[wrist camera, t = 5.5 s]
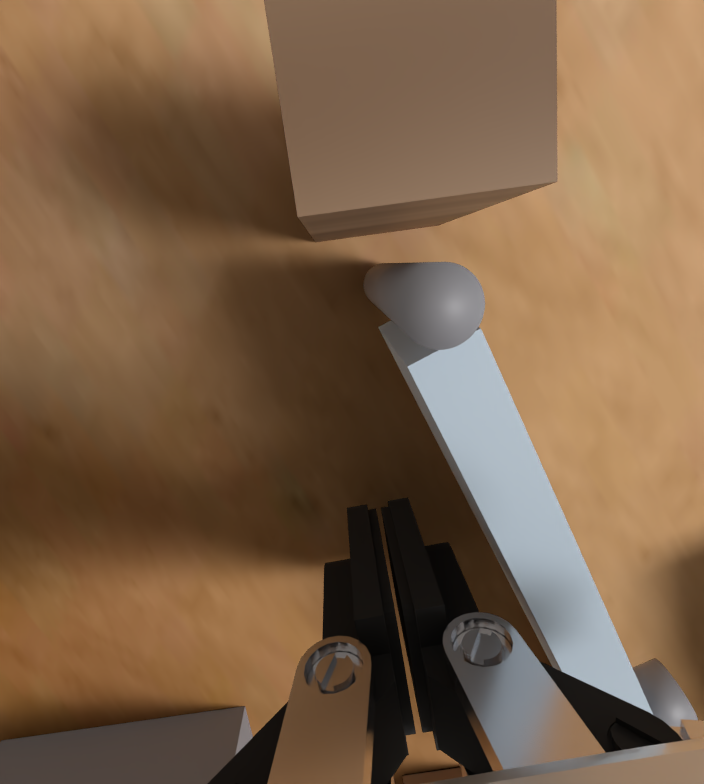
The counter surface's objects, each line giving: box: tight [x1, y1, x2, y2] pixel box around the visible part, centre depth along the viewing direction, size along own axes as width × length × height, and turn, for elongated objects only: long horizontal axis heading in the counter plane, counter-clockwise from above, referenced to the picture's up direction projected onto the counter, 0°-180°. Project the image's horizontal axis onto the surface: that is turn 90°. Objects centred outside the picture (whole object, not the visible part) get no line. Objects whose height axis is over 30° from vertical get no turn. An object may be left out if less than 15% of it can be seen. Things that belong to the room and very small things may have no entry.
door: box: [363, 262, 698, 727], centre depth 10 cm, size 17×2×6 cm, turn 28°
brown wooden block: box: [264, 0, 557, 242], centre depth 8 cm, size 2×3×6 cm
